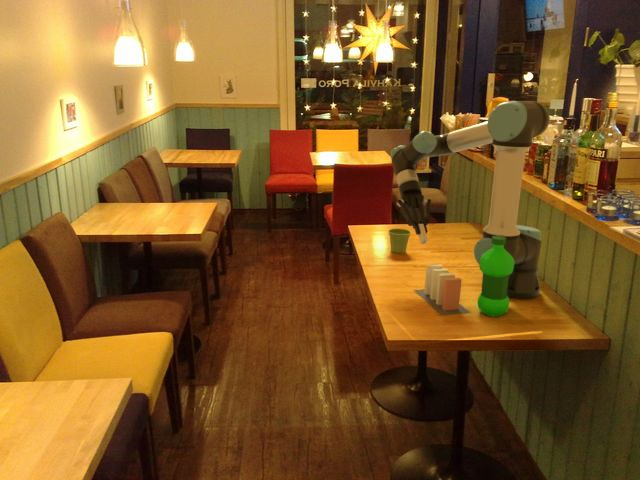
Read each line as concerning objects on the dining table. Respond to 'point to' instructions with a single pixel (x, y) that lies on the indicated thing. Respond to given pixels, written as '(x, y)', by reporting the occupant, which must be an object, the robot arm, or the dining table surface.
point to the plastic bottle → (495, 278)
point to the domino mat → (439, 307)
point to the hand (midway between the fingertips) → (424, 242)
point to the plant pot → (399, 239)
